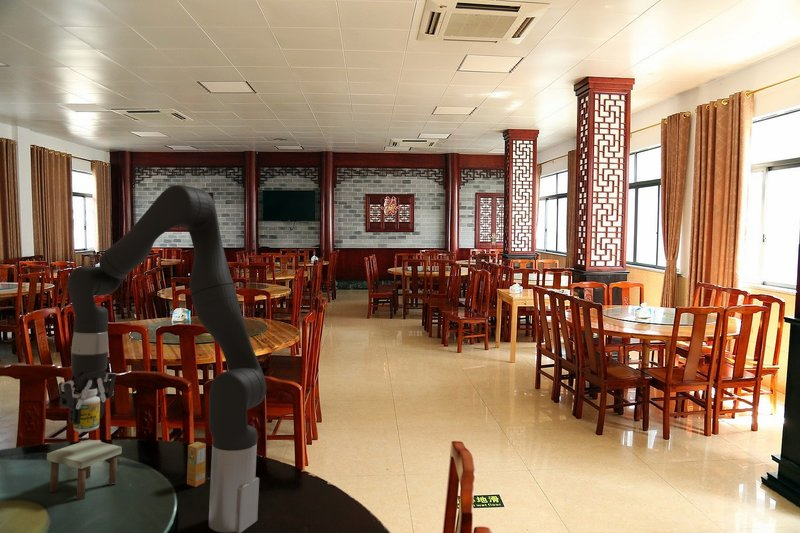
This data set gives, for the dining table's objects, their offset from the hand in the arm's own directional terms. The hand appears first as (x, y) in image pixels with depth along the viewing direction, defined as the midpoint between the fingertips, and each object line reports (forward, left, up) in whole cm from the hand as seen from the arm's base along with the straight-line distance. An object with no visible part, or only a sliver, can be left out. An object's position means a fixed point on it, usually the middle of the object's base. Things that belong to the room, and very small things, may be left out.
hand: (86, 420), depth 129 cm
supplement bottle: (0, 0, -2) cm, 2 cm away
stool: (0, 0, -16) cm, 16 cm away
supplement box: (-21, -14, -16) cm, 30 cm away
